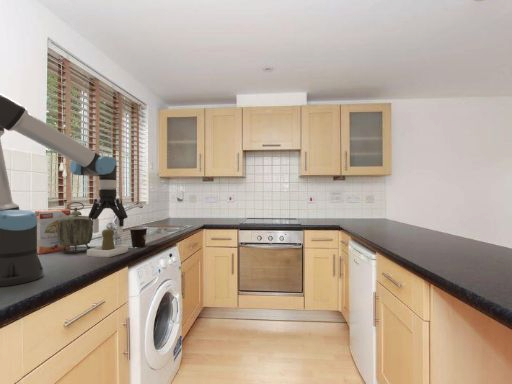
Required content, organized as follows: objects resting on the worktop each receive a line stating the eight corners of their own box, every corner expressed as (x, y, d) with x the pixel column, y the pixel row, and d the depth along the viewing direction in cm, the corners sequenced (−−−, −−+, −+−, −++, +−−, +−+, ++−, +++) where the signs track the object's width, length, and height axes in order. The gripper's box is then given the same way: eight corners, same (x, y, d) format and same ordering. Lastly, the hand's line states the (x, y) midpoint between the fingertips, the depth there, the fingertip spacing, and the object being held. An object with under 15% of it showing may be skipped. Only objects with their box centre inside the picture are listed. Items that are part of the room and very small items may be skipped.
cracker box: (39, 254, 133) (39, 211, 133) (33, 253, 136) (33, 210, 136) (71, 249, 145) (70, 209, 145) (65, 248, 148) (64, 209, 148)
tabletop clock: (93, 248, 146) (92, 201, 146) (92, 252, 138) (92, 201, 138) (59, 251, 139) (59, 202, 139) (56, 255, 131) (56, 202, 131)
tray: (108, 257, 127) (108, 250, 127) (86, 256, 129) (86, 249, 129) (128, 251, 139) (128, 245, 139) (107, 250, 142) (107, 244, 142)
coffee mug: (139, 244, 157) (139, 227, 157) (150, 245, 153) (150, 227, 153) (121, 248, 147) (121, 229, 147) (133, 249, 143) (132, 230, 143)
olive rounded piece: (109, 253, 131) (109, 230, 131) (98, 253, 132) (97, 230, 132) (117, 251, 137) (117, 228, 137) (107, 250, 138) (107, 228, 138)
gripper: (135, 189, 135) (135, 232, 135) (92, 189, 141) (92, 231, 141) (124, 188, 128) (124, 234, 128) (80, 189, 134) (79, 233, 133)
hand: (107, 233), depth 134 cm, fingers open, 13 cm apart
